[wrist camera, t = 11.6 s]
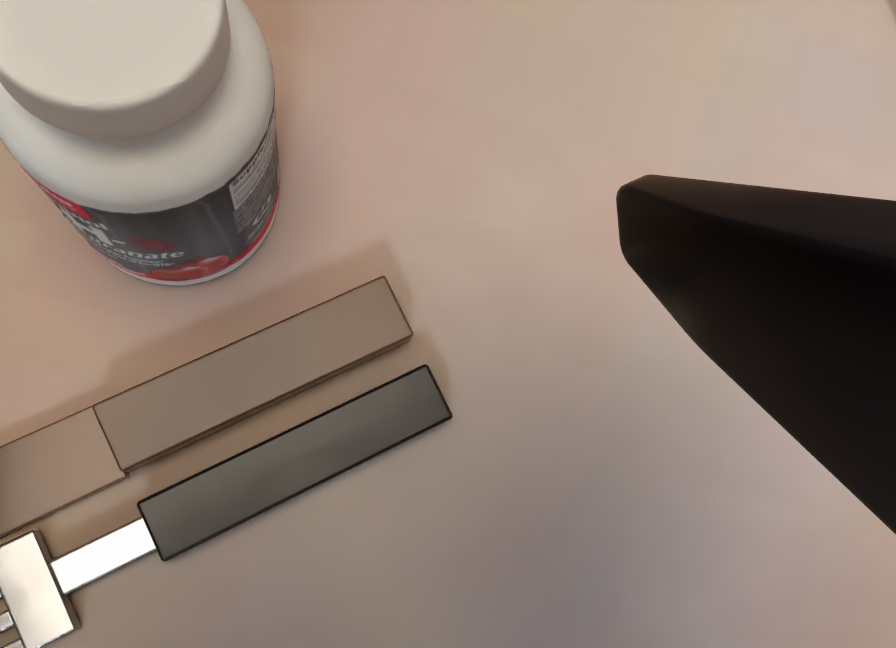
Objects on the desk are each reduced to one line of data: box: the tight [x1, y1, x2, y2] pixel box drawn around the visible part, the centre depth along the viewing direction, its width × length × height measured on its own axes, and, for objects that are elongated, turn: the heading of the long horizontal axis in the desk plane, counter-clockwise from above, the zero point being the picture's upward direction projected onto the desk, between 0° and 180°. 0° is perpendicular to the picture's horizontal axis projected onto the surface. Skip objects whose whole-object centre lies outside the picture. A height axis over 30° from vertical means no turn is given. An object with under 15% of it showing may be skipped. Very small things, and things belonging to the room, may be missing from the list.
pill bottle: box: [0, 0, 280, 285], centre depth 18 cm, size 5×5×10 cm
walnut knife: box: [0, 276, 413, 538], centre depth 21 cm, size 16×2×1 cm, turn 117°
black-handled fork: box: [0, 365, 452, 648], centre depth 21 cm, size 16×3×1 cm, turn 117°
